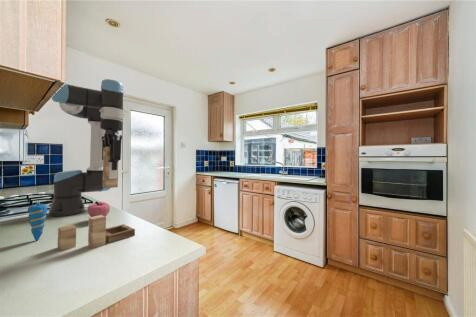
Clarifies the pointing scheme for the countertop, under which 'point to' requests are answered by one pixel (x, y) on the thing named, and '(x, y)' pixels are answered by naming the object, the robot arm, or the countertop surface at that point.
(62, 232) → the short pin
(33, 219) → the ornament
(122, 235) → the collar block
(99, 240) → the medium pin
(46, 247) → the countertop surface
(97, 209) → the apple
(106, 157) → the long pin
